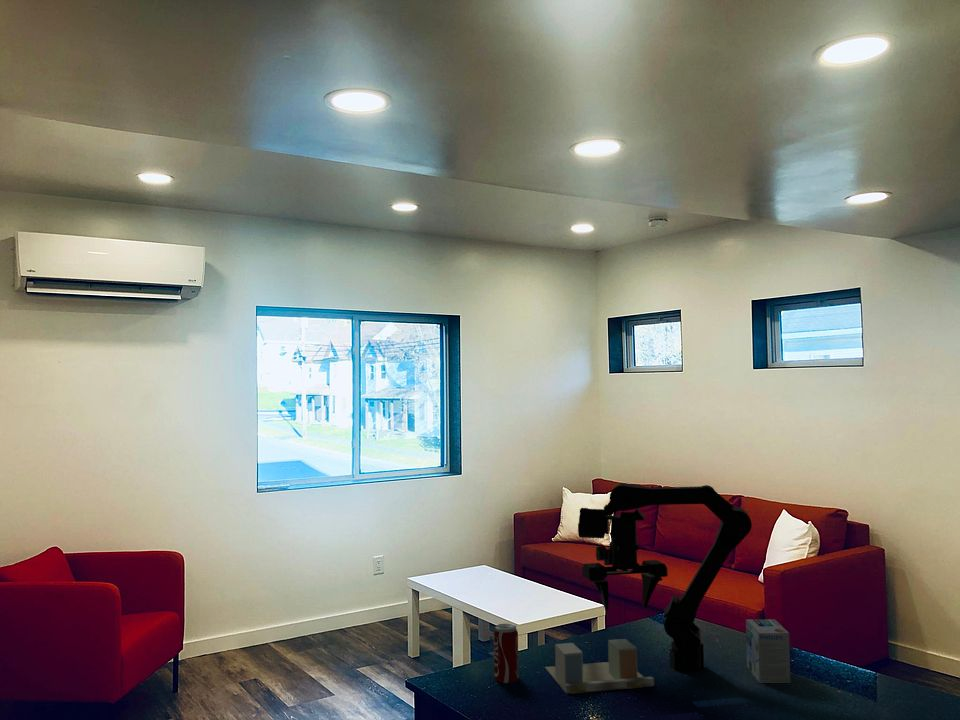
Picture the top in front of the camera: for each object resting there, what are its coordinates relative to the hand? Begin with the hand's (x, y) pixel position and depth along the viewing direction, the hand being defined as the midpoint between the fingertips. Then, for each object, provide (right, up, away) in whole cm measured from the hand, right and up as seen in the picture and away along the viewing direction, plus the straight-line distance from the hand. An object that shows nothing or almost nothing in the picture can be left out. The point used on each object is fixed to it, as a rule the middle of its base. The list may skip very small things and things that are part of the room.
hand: (625, 608), depth 174 cm
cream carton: (-14, -11, -13) cm, 22 cm away
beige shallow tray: (-8, -13, -9) cm, 18 cm away
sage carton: (-3, -11, -10) cm, 16 cm away
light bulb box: (+30, -13, -7) cm, 33 cm away
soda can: (-28, -13, -10) cm, 32 cm away
